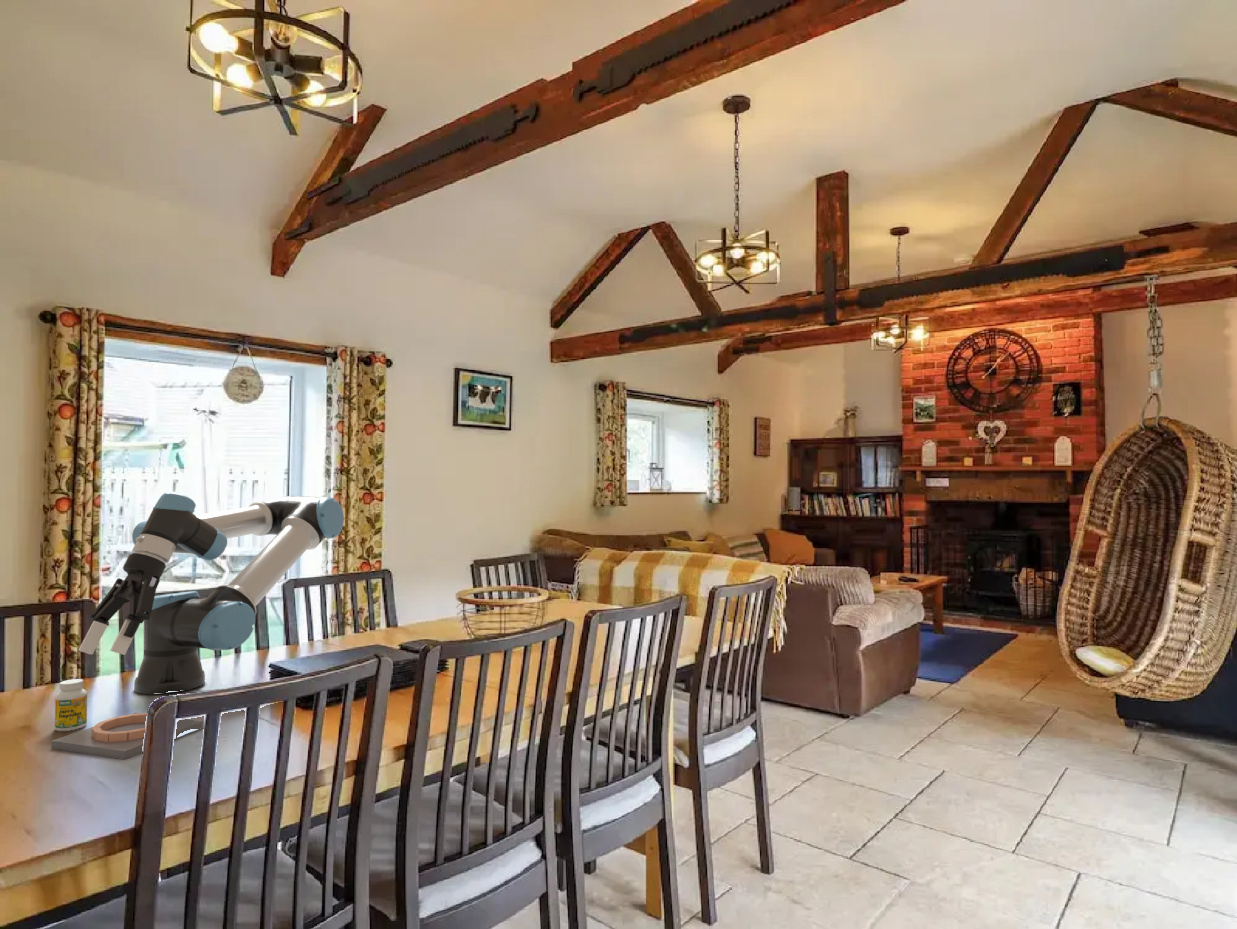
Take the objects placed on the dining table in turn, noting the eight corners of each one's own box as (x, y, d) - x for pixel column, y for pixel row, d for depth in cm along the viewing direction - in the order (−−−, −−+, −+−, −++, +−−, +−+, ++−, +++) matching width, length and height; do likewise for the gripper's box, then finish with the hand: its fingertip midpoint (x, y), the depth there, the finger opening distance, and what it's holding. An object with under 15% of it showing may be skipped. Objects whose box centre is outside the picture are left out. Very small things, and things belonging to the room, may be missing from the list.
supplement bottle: (87, 721, 159) (88, 676, 159) (86, 729, 155) (87, 682, 155) (55, 726, 156) (56, 680, 156) (53, 733, 152) (54, 686, 152)
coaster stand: (135, 719, 161) (135, 705, 161) (202, 728, 156) (203, 713, 156) (51, 748, 144) (52, 732, 144) (124, 759, 139) (125, 743, 139)
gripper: (104, 555, 169) (54, 646, 159) (163, 547, 156) (113, 646, 146) (136, 568, 174) (90, 657, 164) (195, 562, 162) (149, 658, 151)
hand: (100, 652), depth 155 cm, fingers open, 13 cm apart
